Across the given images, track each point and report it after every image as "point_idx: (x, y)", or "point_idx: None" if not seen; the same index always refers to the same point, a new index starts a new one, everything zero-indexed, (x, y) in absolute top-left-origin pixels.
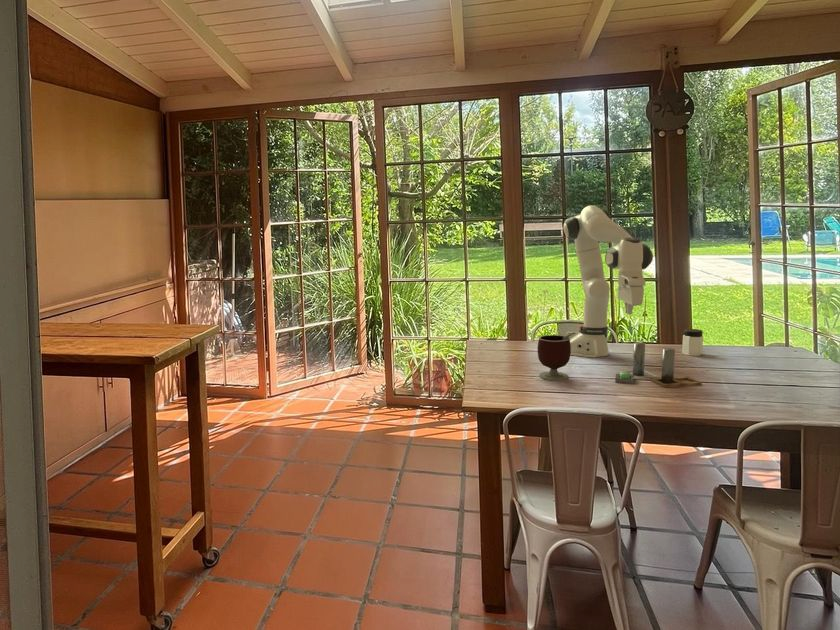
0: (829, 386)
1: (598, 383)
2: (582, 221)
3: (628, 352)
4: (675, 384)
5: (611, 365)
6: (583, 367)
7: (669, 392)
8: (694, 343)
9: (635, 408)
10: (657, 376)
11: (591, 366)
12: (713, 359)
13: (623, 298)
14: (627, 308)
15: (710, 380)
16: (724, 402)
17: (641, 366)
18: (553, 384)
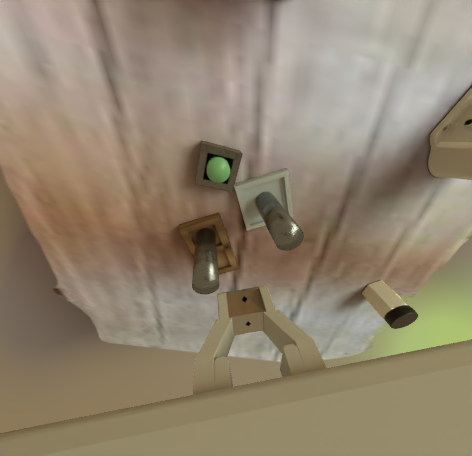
0: None
1: (212, 98)
2: None
3: (428, 214)
4: (188, 246)
5: (356, 164)
6: (362, 85)
7: (171, 230)
8: (378, 304)
9: (26, 150)
10: (247, 230)
11: (363, 112)
12: (340, 302)
13: (327, 420)
14: (226, 327)
15: (244, 286)
16: (138, 283)
17: (260, 214)
18: None
